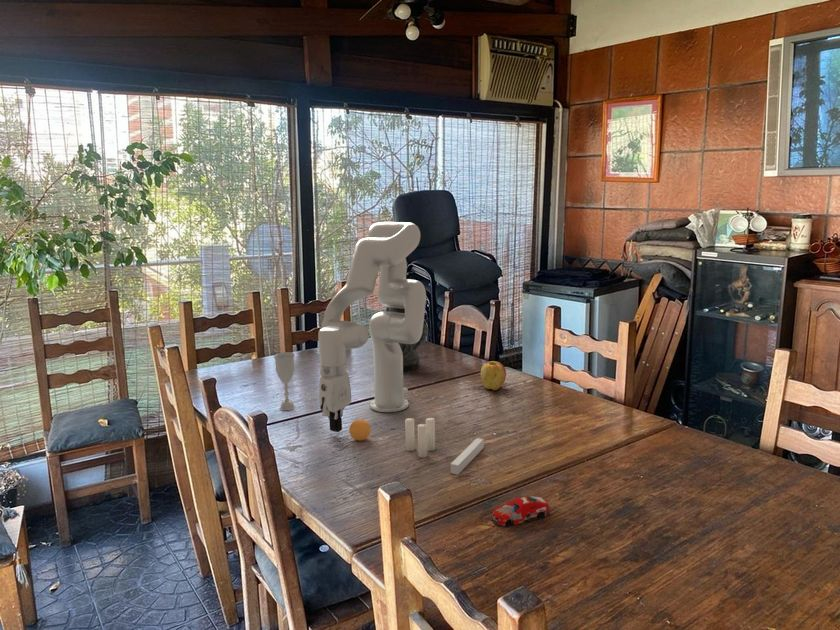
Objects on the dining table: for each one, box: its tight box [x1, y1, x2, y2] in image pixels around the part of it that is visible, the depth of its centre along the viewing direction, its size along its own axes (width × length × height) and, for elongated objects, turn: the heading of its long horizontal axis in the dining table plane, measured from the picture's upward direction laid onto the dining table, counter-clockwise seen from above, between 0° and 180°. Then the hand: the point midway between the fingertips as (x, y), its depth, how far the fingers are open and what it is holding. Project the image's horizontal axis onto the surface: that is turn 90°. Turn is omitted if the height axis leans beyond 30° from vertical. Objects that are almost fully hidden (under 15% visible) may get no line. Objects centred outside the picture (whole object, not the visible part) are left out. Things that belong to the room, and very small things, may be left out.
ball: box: [349, 418, 371, 442], centre depth 177 cm, size 6×6×6 cm
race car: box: [492, 495, 551, 528], centre depth 135 cm, size 13×5×4 cm, turn 111°
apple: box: [480, 360, 507, 391], centre depth 221 cm, size 9×9×10 cm
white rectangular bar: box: [450, 437, 485, 475], centre depth 163 cm, size 18×2×2 cm, turn 154°
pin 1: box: [417, 423, 428, 459], centre depth 166 cm, size 2×2×8 cm
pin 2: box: [425, 417, 436, 451], centre depth 170 cm, size 2×2×8 cm
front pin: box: [404, 417, 415, 452], centre depth 170 cm, size 2×2×8 cm
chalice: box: [273, 351, 296, 411], centre depth 203 cm, size 7×7×18 cm
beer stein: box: [388, 308, 429, 372], centre depth 249 cm, size 16×19×25 cm
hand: (336, 430), depth 181 cm, fingers closed
